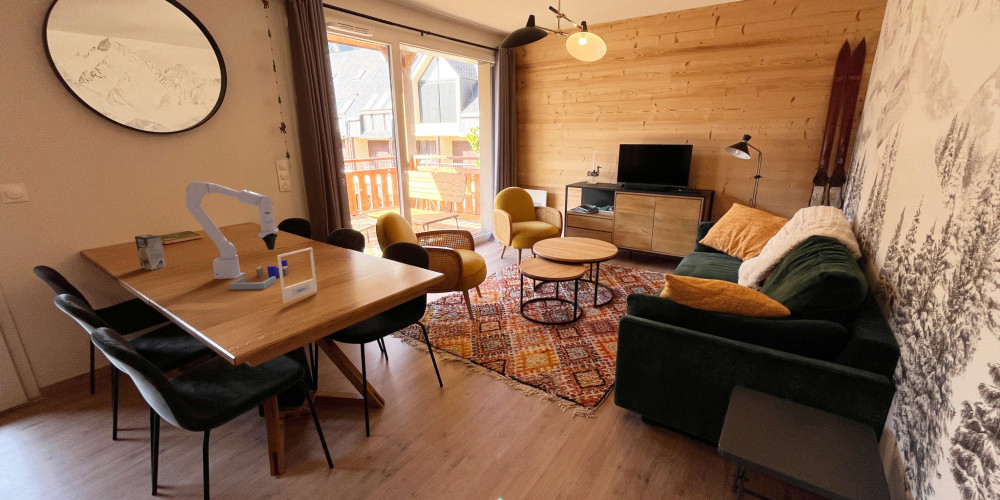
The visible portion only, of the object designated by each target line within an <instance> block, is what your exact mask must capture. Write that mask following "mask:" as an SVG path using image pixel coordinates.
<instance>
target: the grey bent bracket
mask: <svg viewBox="0 0 1000 500" xmlns="http://www.w3.org/2000/svg"><path fill="white" fill-rule="evenodd" d="M275 283H277V279H276V276H272V277H271V278H269V277H268V278H267V279H265V280H264V281H262V282H259V281H258V282H257V281H255V282H248V279H247V276H242V277H240V278H238V279H235V280H234V281H232V282H230V283H229V284H228V285H229V290H233V291H234V290H265V289H267V288H268V287H270V286H272V285H273V284H275Z"/></svg>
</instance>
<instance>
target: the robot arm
mask: <svg viewBox="0 0 1000 500" xmlns="http://www.w3.org/2000/svg"><path fill="white" fill-rule="evenodd" d="M207 193H208V194H209V195H210V194H216V193H217V194H222V195H224V196H225V195H226V196H228V197H232V198H236V199H237V200H238V201H239V202H240V203H242V204H243V203H244V204H247V205H251V206H254V207H255V206H258V215H259V222H260V229H261V231H260V232H259V233H257V234H258V238H260V239H262V241H263V242H264V243H265V245H266V247H267V248H266V249H267V250H268V251H273V250H275V244H276V240H277V237H278V234H277V233H279V227H276V222H275V216H274V211H273V206H274V201H273V199H272V198H271V197H269V196H268V195H265V194H262V193H260V192H259V193H256V192H254V191H251V190H250V189H249V188H247V189H241V190H240V191H239V190H236V189H232V188H231V187H230V188H229V187H227V186H223V185H222V184H221V185H220V184H217V183H212V182H208V181H207V182H206V181H204V182H203V181H201V180H192V181H191V182H189V184H188V185H187V187H186V190H185V207H186V208H187V210H188V211H189V212H190V214H191V215H192V216H193V217H194V218H195V220H196V221H197V222H198V224H199V225H200V226H201V228H202V229H203V230H204V231H205V233H206V235H208V237H209V238H210V239H211V241H213V243H214V244H215V246H216V247H217V251H218V252H219V256H218V257H216V258H214V260H213V262H212V268H213V269H212V270H213V274H214V277H213V279H215V280H218V279H219V280H222V279H225V280H226V279H237V278H239V277H241V276H244V275H245V274H246V272H241V268H240V263H239V255H238V254H237V253H238V252H237V251H238V250H237V248H236V247H235V245H234V243H232V242H230V241H229V240H227V238H226V237H225V236H224V234H223V233H222V232H221V230H220V229H219V228H218V227H217V225H216V224H215V223H214V221H213V220H212V219H211V218H210V216H209V215H208V213H207V212H206V211H205V209H204V208H203V207H202V206H201V205H202V200H203V198H204V197H205V196H206V195H207Z"/></svg>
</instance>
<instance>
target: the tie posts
mask: <svg viewBox="0 0 1000 500" xmlns="http://www.w3.org/2000/svg"><path fill="white" fill-rule="evenodd" d="M255 271H256V272H255V273H256V276H257V277H260V276H262V275H264V266H258V267H255ZM282 271H283V276H287V275H288V274H290V273H289V265H288V266H284V267H282Z"/></svg>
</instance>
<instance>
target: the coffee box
mask: <svg viewBox="0 0 1000 500" xmlns="http://www.w3.org/2000/svg"><path fill="white" fill-rule="evenodd" d="M134 239H135V244H136V245H135V246H136V248H137V253H138V258H139V263H140V269H142V268H146V269H145V270H148V269H151V270H150V271H154V270H153V269H156V270H158V269H157V268H160V269H162V268H161V267H164V268H166V267H167V264H166V260H165V259H166V258H165V254H164V247H163V242H162V237H161V235H156V234H145V235H144V234H143V235H135V236H134ZM165 266H166V267H165Z"/></svg>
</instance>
